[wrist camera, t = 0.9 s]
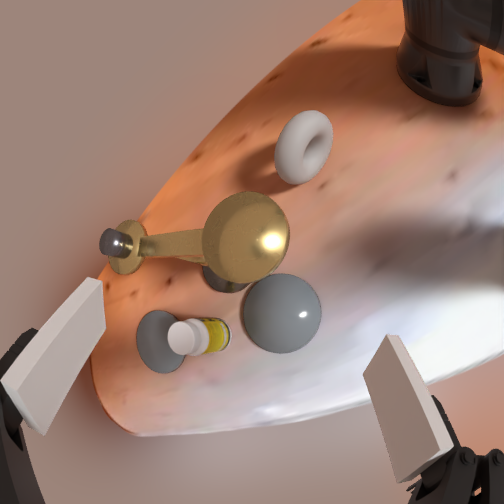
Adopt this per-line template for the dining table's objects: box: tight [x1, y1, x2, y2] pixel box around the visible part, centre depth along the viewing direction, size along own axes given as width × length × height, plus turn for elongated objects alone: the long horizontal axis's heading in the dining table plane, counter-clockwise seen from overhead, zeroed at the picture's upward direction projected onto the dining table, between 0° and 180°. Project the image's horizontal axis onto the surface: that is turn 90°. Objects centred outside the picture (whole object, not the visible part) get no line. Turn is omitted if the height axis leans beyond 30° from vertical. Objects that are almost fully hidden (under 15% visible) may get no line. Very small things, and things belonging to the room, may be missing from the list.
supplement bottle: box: [168, 318, 232, 356], centre depth 35 cm, size 5×5×8 cm
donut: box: [274, 110, 333, 184], centre depth 33 cm, size 10×4×10 cm, turn 142°
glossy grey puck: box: [243, 274, 321, 353], centre depth 36 cm, size 10×10×1 cm
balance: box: [99, 192, 290, 293], centre depth 33 cm, size 8×26×16 cm, turn 84°
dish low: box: [137, 311, 185, 373], centre depth 42 cm, size 10×10×1 cm
